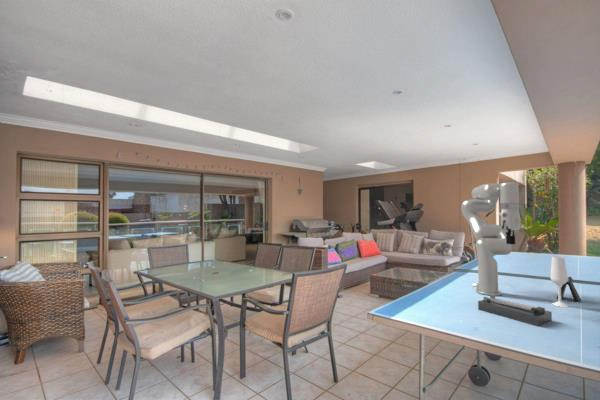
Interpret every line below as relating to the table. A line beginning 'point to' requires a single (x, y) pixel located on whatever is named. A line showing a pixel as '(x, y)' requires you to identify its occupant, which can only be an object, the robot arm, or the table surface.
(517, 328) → the table surface
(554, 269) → the champagne flute
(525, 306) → the strap
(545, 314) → the block
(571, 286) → the phone stand
